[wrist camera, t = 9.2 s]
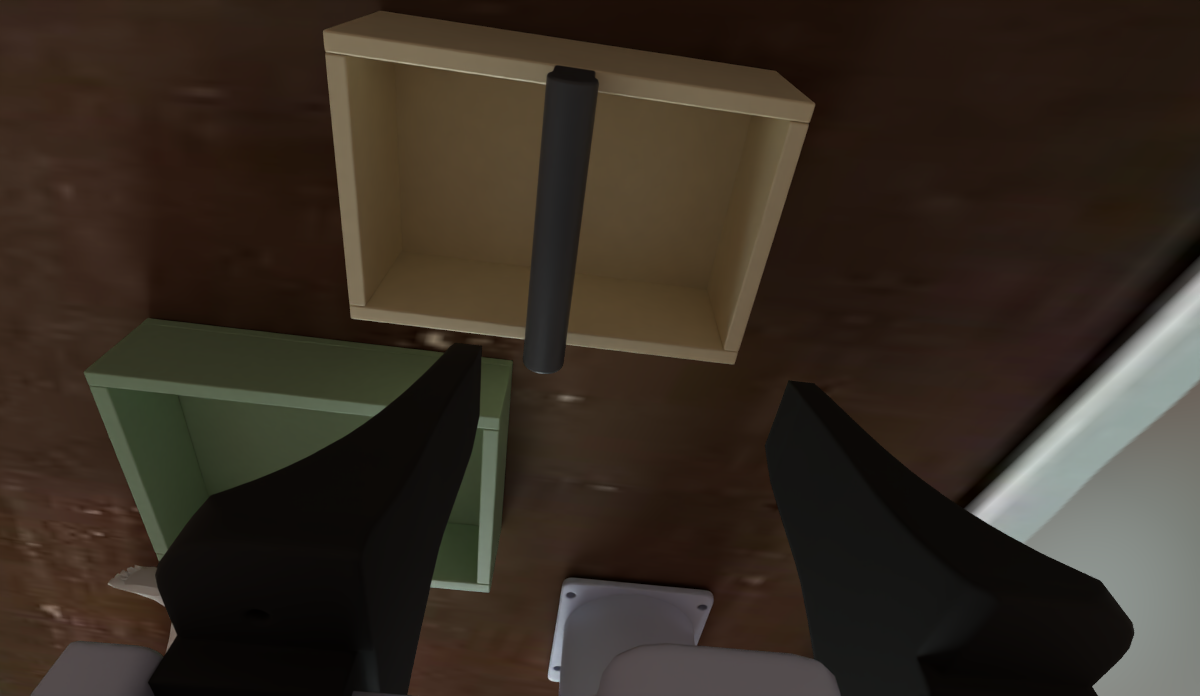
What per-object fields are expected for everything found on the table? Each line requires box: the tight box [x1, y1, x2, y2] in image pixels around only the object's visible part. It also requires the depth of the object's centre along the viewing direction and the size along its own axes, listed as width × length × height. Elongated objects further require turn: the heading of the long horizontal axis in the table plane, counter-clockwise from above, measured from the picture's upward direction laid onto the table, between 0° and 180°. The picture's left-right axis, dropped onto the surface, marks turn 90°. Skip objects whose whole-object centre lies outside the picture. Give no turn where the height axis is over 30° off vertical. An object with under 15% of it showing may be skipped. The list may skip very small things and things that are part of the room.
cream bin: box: [323, 11, 815, 374], centre depth 18 cm, size 8×12×6 cm, turn 82°
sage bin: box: [84, 318, 513, 592], centre depth 26 cm, size 10×14×4 cm
